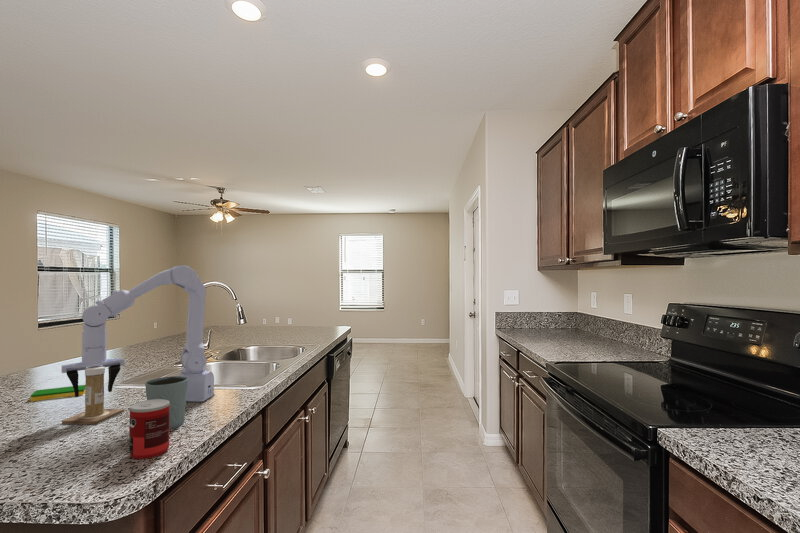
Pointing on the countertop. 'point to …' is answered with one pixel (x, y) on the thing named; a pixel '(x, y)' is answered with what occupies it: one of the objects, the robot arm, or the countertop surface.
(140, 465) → the countertop surface
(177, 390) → the grey-green tapered cup
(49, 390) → the dish sponge
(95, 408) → the spice jar
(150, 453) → the canned food
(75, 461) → the countertop surface
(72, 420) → the spice coaster
